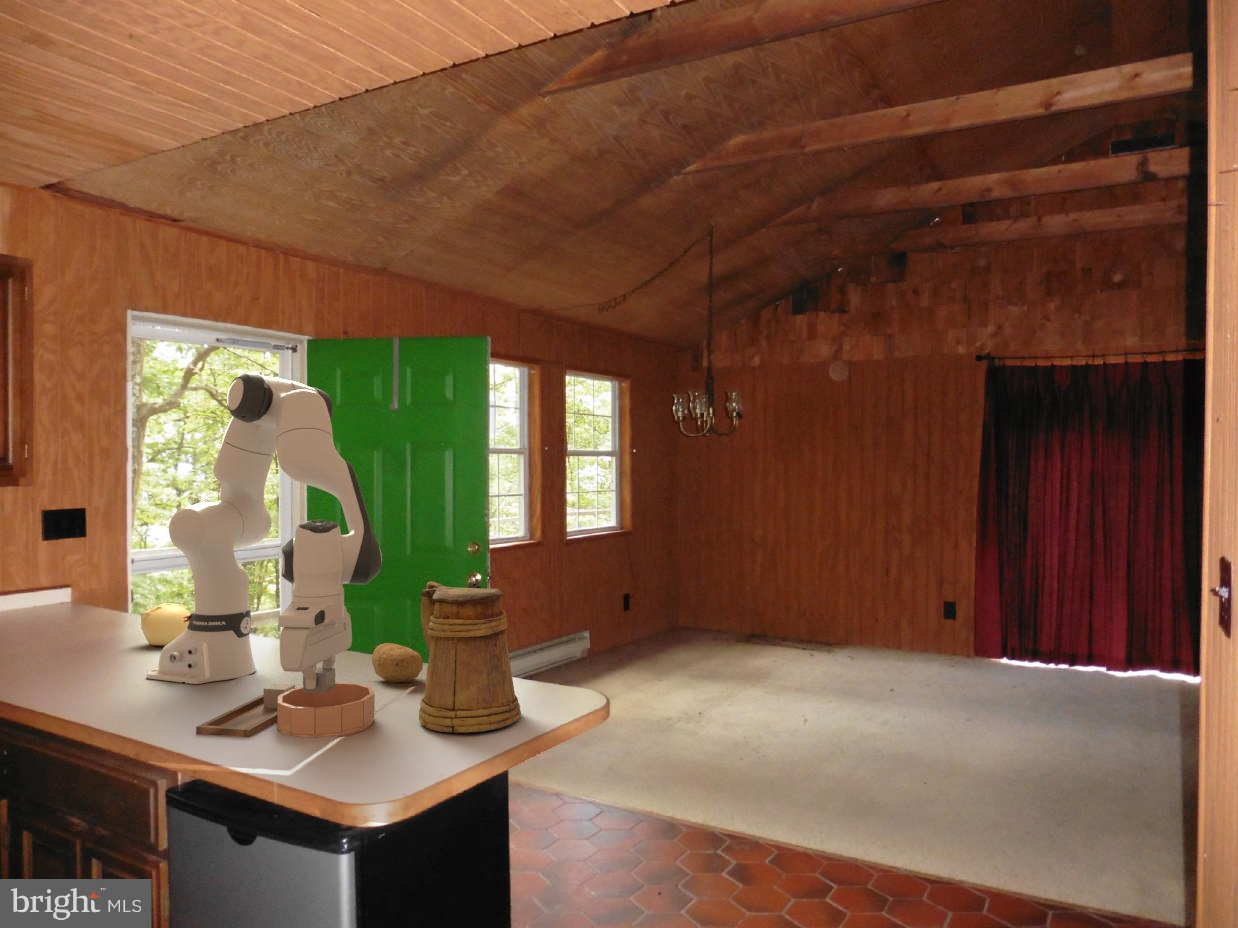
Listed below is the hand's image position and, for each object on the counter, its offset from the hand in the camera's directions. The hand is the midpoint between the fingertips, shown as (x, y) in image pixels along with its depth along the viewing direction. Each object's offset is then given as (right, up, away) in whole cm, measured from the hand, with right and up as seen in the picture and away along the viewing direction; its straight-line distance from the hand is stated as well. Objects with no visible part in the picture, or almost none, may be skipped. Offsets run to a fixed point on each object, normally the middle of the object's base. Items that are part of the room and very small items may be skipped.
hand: (318, 684), depth 152 cm
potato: (+7, -8, +29) cm, 31 cm away
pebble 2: (-11, -7, +9) cm, 16 cm away
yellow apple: (-63, -7, +64) cm, 90 cm away
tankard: (+25, -8, +4) cm, 27 cm away
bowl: (+1, -7, 0) cm, 7 cm away
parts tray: (-12, -7, +5) cm, 15 cm away
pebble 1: (0, -1, 0) cm, 1 cm away
